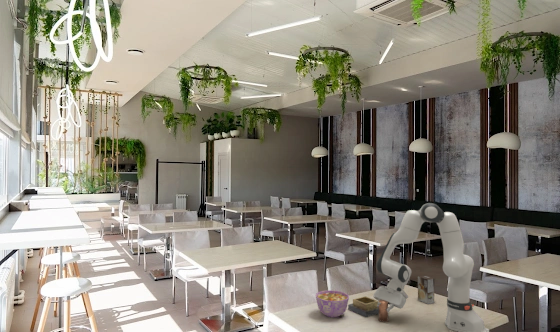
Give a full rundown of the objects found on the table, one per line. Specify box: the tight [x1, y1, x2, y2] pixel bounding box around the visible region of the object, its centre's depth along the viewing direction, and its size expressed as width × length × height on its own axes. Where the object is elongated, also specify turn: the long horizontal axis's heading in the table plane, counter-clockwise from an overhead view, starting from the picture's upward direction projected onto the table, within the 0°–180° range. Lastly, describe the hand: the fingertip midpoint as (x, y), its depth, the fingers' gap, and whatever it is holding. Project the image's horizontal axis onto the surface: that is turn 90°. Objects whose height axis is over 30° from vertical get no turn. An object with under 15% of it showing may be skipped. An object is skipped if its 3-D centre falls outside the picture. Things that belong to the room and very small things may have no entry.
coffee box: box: [417, 274, 435, 305], centre depth 256 cm, size 9×6×16 cm
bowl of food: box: [315, 289, 350, 318], centre depth 231 cm, size 20×20×12 cm
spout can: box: [377, 300, 389, 323], centre depth 223 cm, size 5×7×11 cm
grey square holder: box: [347, 296, 379, 318], centre depth 238 cm, size 15×15×6 cm
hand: (382, 309), depth 223 cm, fingers closed on spout can, 5 cm apart
